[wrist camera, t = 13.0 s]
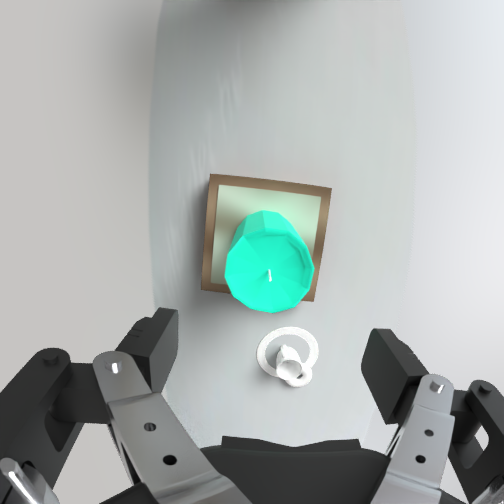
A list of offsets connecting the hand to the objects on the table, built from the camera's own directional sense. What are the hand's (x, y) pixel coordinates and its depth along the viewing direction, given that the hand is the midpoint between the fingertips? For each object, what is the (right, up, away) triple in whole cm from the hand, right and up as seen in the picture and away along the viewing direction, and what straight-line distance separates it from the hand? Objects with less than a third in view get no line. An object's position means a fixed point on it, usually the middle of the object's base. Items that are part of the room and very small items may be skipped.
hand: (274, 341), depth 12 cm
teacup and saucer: (+2, -12, +27) cm, 30 cm away
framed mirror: (0, +6, +22) cm, 23 cm away
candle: (0, +5, +19) cm, 19 cm away
